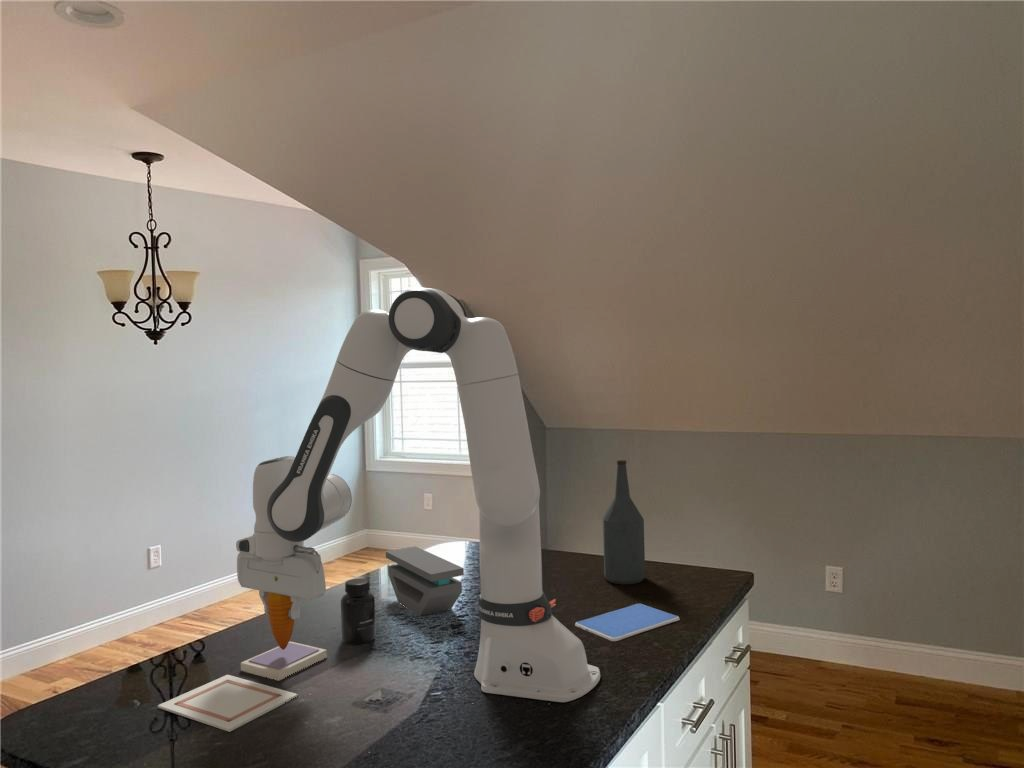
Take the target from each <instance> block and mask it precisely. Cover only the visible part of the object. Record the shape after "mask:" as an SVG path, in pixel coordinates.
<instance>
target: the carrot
mask: <svg viewBox="0 0 1024 768" xmlns="http://www.w3.org/2000/svg"><path fill="white" fill-rule="evenodd" d="M274 579H275V581H277V579H278V578H277V577H276V576H275V577H274ZM292 604H293V602H291V596H286V595H281V594H276V593H269V594H268V612H269V614H268V620H269V624H270V628H271V632H272V635H273V638H274V640H275V642H276V643H277V646H279V647H280V648H281V649H282V650H284V649H285V648H286V647H287V645H288V643H289V642H290V640H291V639H292V635H293V630H294V625H295V620H294V619H289V618H288V611H287V610H288V609H291V607H292Z"/></svg>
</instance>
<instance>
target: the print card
mask: <svg viewBox="0 0 1024 768" xmlns="http://www.w3.org/2000/svg"><path fill="white" fill-rule="evenodd" d="M297 696H299V695H298V693H295V692H292V691H288V690H286V689H285V690H284V689H281V688H279V687H274V686H270V685H267V684H263V683H259V682H257V681H256V682H255V681H252V680H249V679H244V678H241V677H237V676H234V675H230V674H225V675H223V676H221V677H219V678H217V679H214V680H211V681H210V682H207V683H206V684H203V685H201V686H198V687H196V688H193V689H191V690H189V691H188V692H184V693H182V694H179V695H178V696H176V697H174V698H171V699H169V700H166V701H165V702H162V703H159V704H158V705H157V708H158V709H160V710H163V711H167V712H169V713H173V714H175V715H178V716H181V717H183V718H188V719H191V720H194V721H195V722H196V721H197V722H199V723H202V724H205V725H208V726H211V727H214V728H218V729H219V730H223V731H226V732H232V731H234V730H236V729H238V728H240V727H242V726H244V725H246V724H247V723H249V722H251V721H254V720H255V719H257V718H259V717H261V716H263V715H265V714H267V713H268V712H270V711H273V710H275V709H276V708H278V707H280V706H282V705H284V704H286V703H288V702H290V701H292V700H294V699H295V697H296V698H297ZM293 698H294V699H293ZM291 699H292V700H291ZM285 702H286V703H285Z"/></svg>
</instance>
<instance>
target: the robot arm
mask: <svg viewBox="0 0 1024 768" xmlns="http://www.w3.org/2000/svg"><path fill="white" fill-rule="evenodd" d="M467 315H468V314H467V312H466V309H465V307H464V306H463V304H462V303H461V301H460V300H459V299H458V298H456V297H455V296H453V295H452V294H449V293H447V292H444V291H442V290H440V289H438V288H431V287H420V286H419V287H414V288H413V287H412V288H410V289H407V290H405V291H403V292H402V293H401V294H399V295H398V296H397V297H396V298H395V299H394V301H393V302H392V304H391V306H390V308H389V311H387V310H382V309H367V310H364V311H362V312H361V313H359V314H358V315H357V316H356V318H355V319H354V321H353V323H352V324H351V326H350V328H349V330H348V332H347V334H346V336H345V338H344V340H343V342H342V345H341V347H340V350H339V352H338V353H337V357H336V360H335V363H334V366H333V369H332V371H331V374H330V377H329V380H328V383H327V385H326V389H325V391H324V392H323V395H322V398H321V400H320V401H319V404H318V406H317V408H316V410H315V412H314V414H313V416H312V418H311V421H310V422H309V425H308V427H307V430H306V431H305V433H304V436H303V438H302V441H301V444H300V445H299V449H297V452H296V455H295V456H293V455H287V456H281V457H276V458H271V459H268V460H263V461H262V462H260V463H259V464H258V465H257V466H256V467H255V469H254V472H253V479H252V480H253V482H252V507H253V510H254V513H255V522H254V525H253V526H254V527H253V534H252V535H250V536H248V537H244V538H241V539H238V540H236V543H235V545H236V546H235V547H236V548H235V549H236V551H237V552H238V554H237V556H236V574H237V575H236V576H237V581H238V584H239V585H240V587H241V588H245V589H250V590H256V591H258V595H259V598H260V600H261V603H262V604H263V608H264V609H263V610H264V614H266V615H269V612H268V594H269V593H276V594H281V595H286V596H291V602H293V604H292V607H291V609H288V610H287V611H288V618H289V619H294V621H295V620H298V619H299V618H300V617H301V608H302V606H303V603H304V602H305V600H308V601H313V600H315V599H318V598H321V597H323V596H324V594H325V593H326V590H327V586H326V585H327V583H326V577H325V571H324V570H325V569H324V566H323V565H324V564H323V561H322V557H321V554H320V553H319V552H318V551H317V550H316V549H315V548H314V547H311V546H309V547H306V546H305V542H304V541H306V540H308V539H310V538H312V537H313V536H315V535H316V534H317V533H318V532H320V531H322V530H324V529H326V528H328V527H330V526H331V525H333V524H335V523H337V522H338V521H340V520H341V519H343V518H345V516H347V514H348V512H349V511H350V509H351V506H352V498H353V497H352V492H351V488H350V486H349V485H348V483H347V482H346V481H345V480H344V479H343V478H342V477H340V476H339V475H337V474H334V473H333V474H332V473H331V470H332V468H333V465H334V462H335V460H336V458H337V455H338V453H339V452H340V448H341V447H342V445H343V443H344V442H345V441H346V439H347V438H348V437H349V436H350V435H351V434H352V433H354V431H356V430H357V429H358V428H359V427H361V426H362V425H363V424H364V423H366V422H368V421H369V420H371V419H372V418H373V417H375V416H376V415H378V413H379V412H380V411H381V410H382V408H383V407H384V406H385V403H386V401H387V400H388V398H389V396H390V394H391V392H392V390H393V386H394V384H395V382H396V377H397V376H398V375H397V374H398V371H399V369H400V367H401V363H402V361H403V360H404V358H405V356H406V355H407V354H408V353H409V352H410V351H412V350H414V351H421V352H431V353H436V354H437V353H439V354H446V355H447V356H448V358H449V359H450V361H451V363H452V367H453V371H454V376H455V380H456V385H457V392H458V397H459V402H460V407H461V413H462V418H463V424H464V428H465V429H464V430H465V435H466V442H467V443H466V444H467V449H468V458H469V464H470V471H471V477H472V483H473V484H472V485H473V488H474V489H473V490H474V495H475V500H476V504H477V507H478V510H479V516H478V518H479V541H478V542H479V543H478V544H479V545H478V546H479V549H478V550H479V551H478V552H479V553H478V555H479V556H478V557H479V580H480V582H479V583H480V593H479V595H478V616H479V622H480V633H479V634H480V638H479V648H478V653H477V660H476V664H475V668H474V672H473V675H474V678H475V679H476V681H478V682H479V684H480V685H481V686H480V689H481V691H482V692H483V693H487V694H493V695H494V694H495V695H503V696H509V697H516V698H524V699H526V698H527V699H533V700H539V701H549V702H555V703H556V702H557V703H568V702H571V701H574V700H576V699H579V698H581V697H583V696H584V695H586V694H587V693H589V692H590V691H591V690H593V689H594V688H595V687H596V686H597V685H598V683H599V682H600V679H601V671H600V668H599V667H598V666H596V665H595V666H594V665H591V664H588V660H587V653H586V650H585V646H584V644H583V642H582V640H581V639H580V638H579V637H578V636H576V635H575V634H574V633H573V632H572V631H570V630H569V629H568V628H567V627H566V626H565V625H563V624H562V622H560V621H559V620H558V619H557V618H556V617H555V616H554V615H553V611H552V608H554V607H555V606H556V605H557V603H556V602H557V601H556V600H557V599H556V598H554V599H552V600H548V599H547V596H546V595H545V593H544V591H543V567H542V566H543V564H542V563H543V562H542V543H541V519H540V517H541V516H540V498H541V497H540V496H541V489H540V481H539V477H538V472H537V467H536V462H535V457H534V452H533V446H532V440H531V434H530V430H529V425H528V418H527V414H526V413H527V411H526V409H525V408H526V407H525V402H524V397H523V393H522V386H521V385H522V384H521V381H520V375H519V371H518V367H517V361H516V358H515V354H514V352H513V347H512V343H511V342H510V340H509V337H508V334H507V332H506V329H505V326H503V324H502V323H501V322H500V321H498V320H496V319H495V318H491V317H485V316H479V317H471V318H470V317H468V316H467ZM275 576H276V577H277V578H278V579H277V581H275V579H274V577H275Z"/></svg>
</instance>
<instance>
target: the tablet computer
mask: <svg viewBox="0 0 1024 768" xmlns="http://www.w3.org/2000/svg"><path fill="white" fill-rule="evenodd" d="M679 621H680V617H679V616H678V615H675V614H672V613H671V612H670V613H669V612H667V611H663V610H660V609H657V608H654V607H652V606H648V605H645V604H642V603H635V604H631V605H629V606H626V607H625V606H624V607H623V608H619V609H615V610H612V611H609V612H605V613H602V614H600V615H596V616H592V617H590V618H585V619H582V620H579V621H576V622H575V624H574V626H575V627H577V628H579V629H581V630H584V631H586V632H588V633H591V634H594V635H596V636H599V637H601V638H603V639H606V640H607V641H611V642H618V641H621V640H624V639H627V638H629V637H633V636H636V635H638V634H639V635H640V634H641V633H644V632H645V633H646V632H647V631H651V630H654V629H656V628H660V627H662V626H665V625H669V624H671V623H675V622H679Z"/></svg>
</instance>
